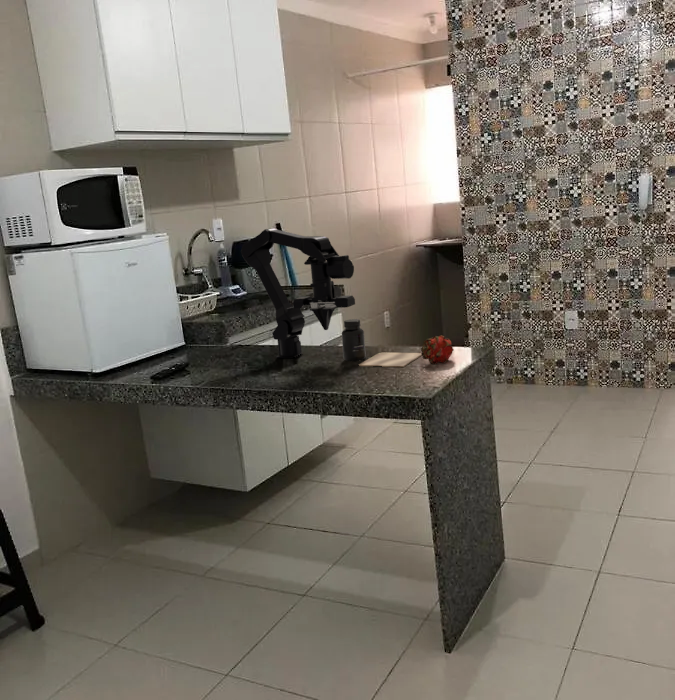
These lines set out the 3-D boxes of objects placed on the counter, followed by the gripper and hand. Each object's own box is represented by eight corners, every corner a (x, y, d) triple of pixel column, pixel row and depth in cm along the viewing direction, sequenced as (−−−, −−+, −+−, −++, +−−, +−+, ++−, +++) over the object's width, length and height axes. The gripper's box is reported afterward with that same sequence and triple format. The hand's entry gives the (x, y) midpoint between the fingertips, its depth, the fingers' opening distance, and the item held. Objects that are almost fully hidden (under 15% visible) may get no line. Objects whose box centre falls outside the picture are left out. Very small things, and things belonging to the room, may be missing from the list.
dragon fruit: (423, 373, 208) (446, 369, 217) (445, 357, 203) (467, 353, 212) (409, 347, 211) (432, 344, 220) (430, 330, 206) (453, 328, 215)
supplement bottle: (360, 362, 221) (357, 322, 219) (339, 361, 224) (336, 322, 222) (369, 356, 227) (366, 318, 225) (349, 356, 230) (346, 318, 228)
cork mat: (358, 366, 216) (358, 364, 216) (380, 353, 230) (380, 352, 230) (403, 367, 210) (403, 365, 210) (423, 354, 224) (423, 353, 224)
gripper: (360, 274, 227) (364, 324, 231) (307, 276, 236) (312, 324, 239) (344, 279, 218) (349, 332, 221) (289, 281, 226) (294, 331, 229)
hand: (326, 329), depth 228 cm, fingers closed
